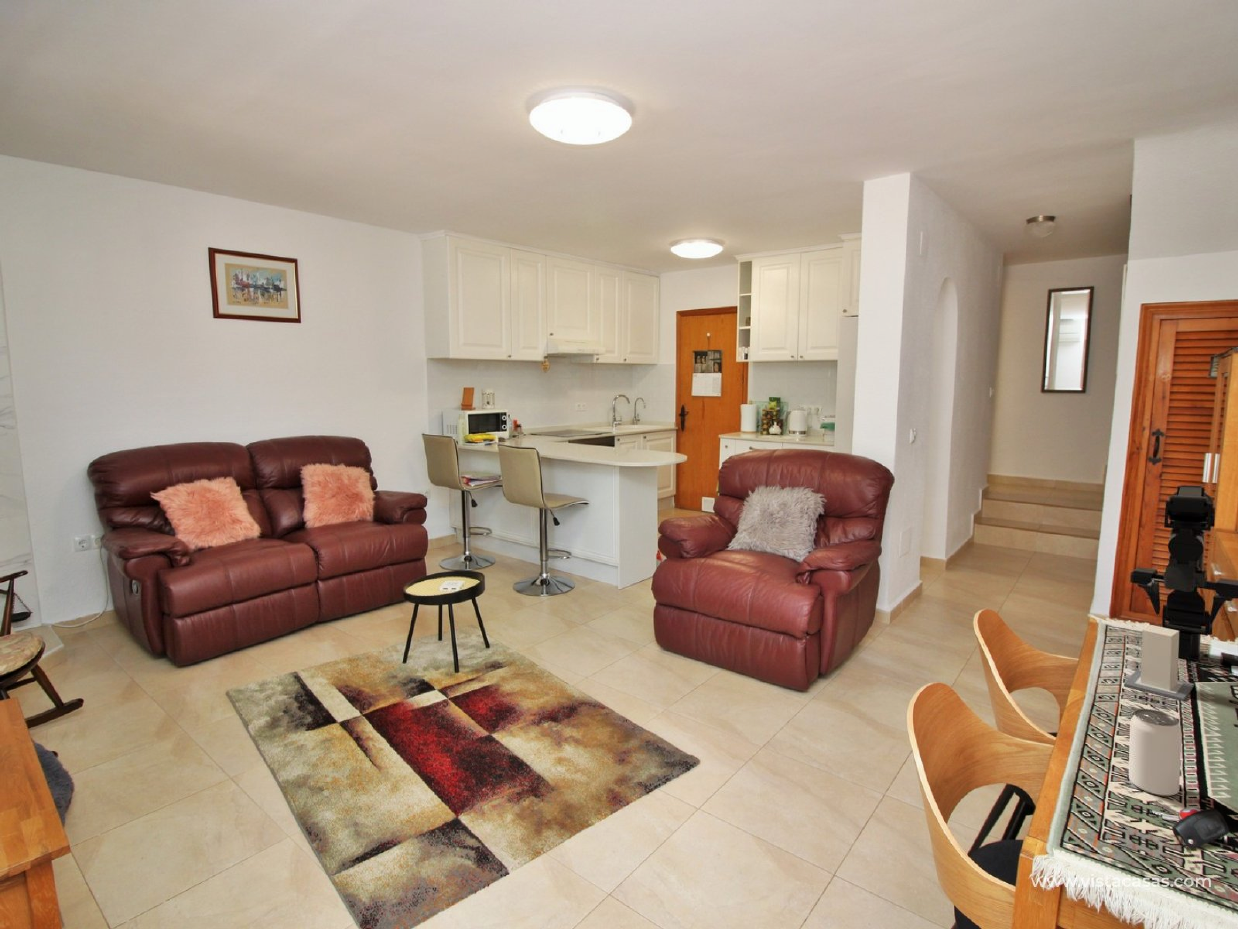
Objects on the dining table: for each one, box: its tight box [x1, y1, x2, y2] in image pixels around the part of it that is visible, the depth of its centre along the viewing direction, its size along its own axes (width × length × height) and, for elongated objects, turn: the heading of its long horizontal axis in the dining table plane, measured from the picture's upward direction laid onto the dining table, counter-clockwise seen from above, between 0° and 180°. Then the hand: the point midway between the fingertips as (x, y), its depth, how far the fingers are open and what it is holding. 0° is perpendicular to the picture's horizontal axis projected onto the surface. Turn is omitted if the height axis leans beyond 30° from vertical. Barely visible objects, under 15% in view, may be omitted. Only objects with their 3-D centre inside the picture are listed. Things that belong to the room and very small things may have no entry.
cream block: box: [1140, 624, 1179, 690], centre depth 139 cm, size 5×5×12 cm
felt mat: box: [1123, 669, 1195, 702], centre depth 140 cm, size 10×10×1 cm
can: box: [1128, 708, 1182, 797], centre depth 105 cm, size 6×6×12 cm
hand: (1183, 619), depth 144 cm, fingers open, 9 cm apart
